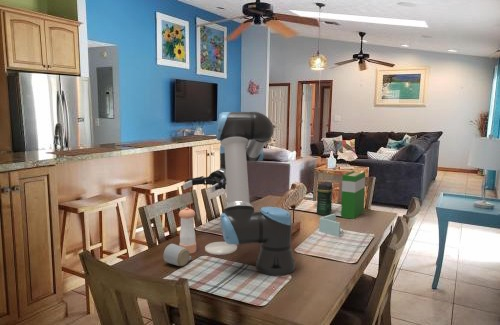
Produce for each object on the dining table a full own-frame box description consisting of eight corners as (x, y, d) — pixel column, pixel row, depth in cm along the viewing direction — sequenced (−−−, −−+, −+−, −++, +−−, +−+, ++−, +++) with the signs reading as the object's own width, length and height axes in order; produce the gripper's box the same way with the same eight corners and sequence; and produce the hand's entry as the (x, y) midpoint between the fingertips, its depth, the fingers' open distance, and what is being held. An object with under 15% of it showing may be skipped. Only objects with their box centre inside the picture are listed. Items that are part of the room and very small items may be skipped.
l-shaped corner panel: (338, 238, 185) (339, 223, 184) (319, 232, 194) (319, 217, 193) (353, 233, 193) (353, 218, 192) (333, 227, 202) (334, 213, 201)
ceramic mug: (178, 269, 149) (178, 250, 148) (163, 265, 153) (162, 246, 152) (196, 260, 158) (196, 242, 157) (181, 256, 162) (180, 239, 161)
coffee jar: (328, 216, 220) (329, 184, 217) (315, 215, 223) (315, 183, 221) (333, 212, 228) (334, 181, 226) (320, 211, 232) (320, 180, 229)
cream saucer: (243, 249, 170) (243, 247, 170) (218, 257, 161) (218, 255, 161) (223, 241, 180) (223, 239, 180) (198, 248, 171) (198, 246, 171)
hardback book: (351, 210, 234) (353, 170, 230) (363, 212, 230) (365, 172, 226) (341, 217, 219) (342, 175, 216) (353, 219, 215) (355, 176, 212)
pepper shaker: (193, 254, 164) (192, 210, 161) (176, 253, 165) (175, 209, 163) (198, 248, 171) (197, 206, 168) (183, 247, 173) (181, 205, 170)
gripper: (242, 187, 187) (222, 199, 168) (196, 182, 196) (173, 193, 177) (242, 172, 186) (222, 182, 166) (196, 168, 195) (172, 177, 176)
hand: (197, 188), depth 172 cm, fingers open, 13 cm apart
